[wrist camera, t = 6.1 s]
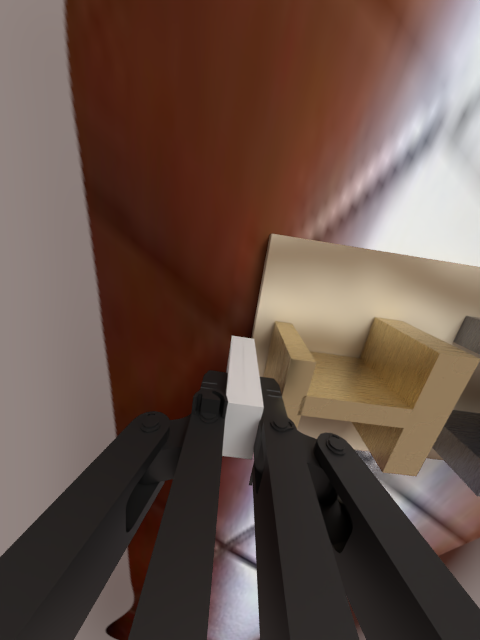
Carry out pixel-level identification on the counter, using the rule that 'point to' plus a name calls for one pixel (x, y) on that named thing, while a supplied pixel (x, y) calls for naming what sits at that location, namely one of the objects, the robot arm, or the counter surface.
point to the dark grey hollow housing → (463, 423)
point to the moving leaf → (376, 388)
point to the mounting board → (360, 306)
